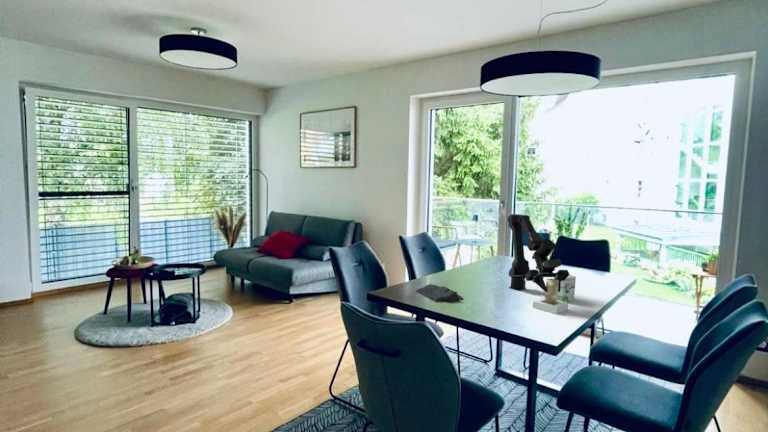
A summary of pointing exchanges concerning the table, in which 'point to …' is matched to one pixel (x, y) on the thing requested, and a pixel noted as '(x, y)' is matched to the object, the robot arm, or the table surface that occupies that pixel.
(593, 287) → the table surface
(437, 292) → the dark slate chunk
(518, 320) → the table surface
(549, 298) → the birch pin
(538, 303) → the grey socket
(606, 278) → the table surface
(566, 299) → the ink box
